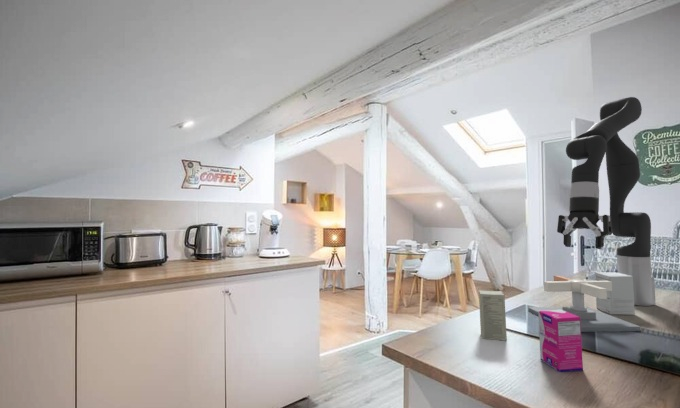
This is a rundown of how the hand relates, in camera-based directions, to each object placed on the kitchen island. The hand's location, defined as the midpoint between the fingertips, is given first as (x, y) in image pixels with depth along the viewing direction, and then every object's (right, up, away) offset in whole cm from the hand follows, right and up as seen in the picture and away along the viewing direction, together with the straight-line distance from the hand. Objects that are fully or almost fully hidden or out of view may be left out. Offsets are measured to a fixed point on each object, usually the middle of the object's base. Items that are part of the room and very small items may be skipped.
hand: (582, 247), depth 103 cm
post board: (-2, -22, -1) cm, 23 cm away
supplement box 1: (-28, -22, -31) cm, 48 cm away
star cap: (-2, -13, -1) cm, 14 cm away
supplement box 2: (+16, -23, +6) cm, 28 cm away
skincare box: (-35, -23, -14) cm, 44 cm away
